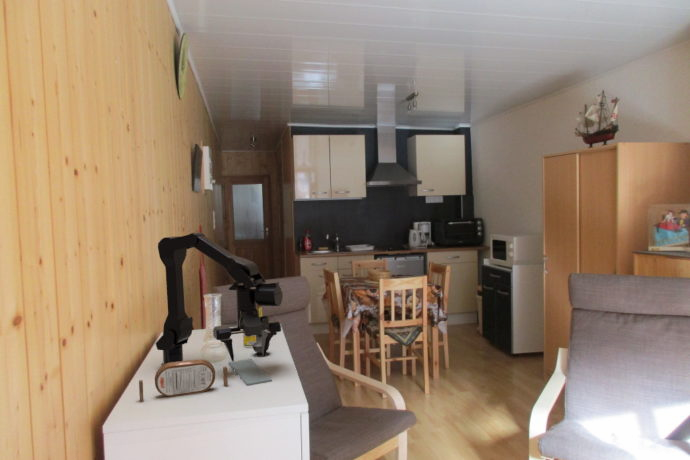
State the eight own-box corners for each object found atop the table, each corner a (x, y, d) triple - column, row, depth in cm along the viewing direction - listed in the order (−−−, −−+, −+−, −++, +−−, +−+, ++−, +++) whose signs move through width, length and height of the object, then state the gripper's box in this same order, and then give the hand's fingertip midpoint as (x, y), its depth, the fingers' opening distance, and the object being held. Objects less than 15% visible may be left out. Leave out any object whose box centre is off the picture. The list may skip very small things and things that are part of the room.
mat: (228, 363, 151) (228, 362, 151) (250, 360, 154) (250, 358, 154) (246, 385, 132) (246, 383, 132) (272, 381, 135) (272, 379, 135)
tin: (215, 387, 131) (214, 356, 131) (216, 391, 128) (215, 359, 128) (155, 396, 126) (154, 363, 126) (154, 400, 123) (153, 367, 123)
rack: (139, 400, 123) (138, 380, 123) (226, 384, 133) (225, 366, 133) (140, 402, 122) (139, 382, 122) (227, 386, 132) (227, 367, 131)
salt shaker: (257, 358, 156) (256, 321, 155) (248, 355, 160) (247, 318, 160) (273, 355, 160) (272, 318, 159) (264, 351, 164) (263, 315, 164)
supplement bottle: (251, 349, 167) (250, 321, 167) (240, 347, 170) (239, 319, 170) (262, 345, 171) (261, 318, 171) (251, 343, 175) (250, 316, 174)
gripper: (219, 313, 131) (222, 371, 132) (286, 306, 139) (288, 360, 140) (211, 307, 141) (213, 360, 142) (274, 300, 149) (276, 351, 150)
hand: (248, 358), depth 143 cm, fingers open, 9 cm apart
